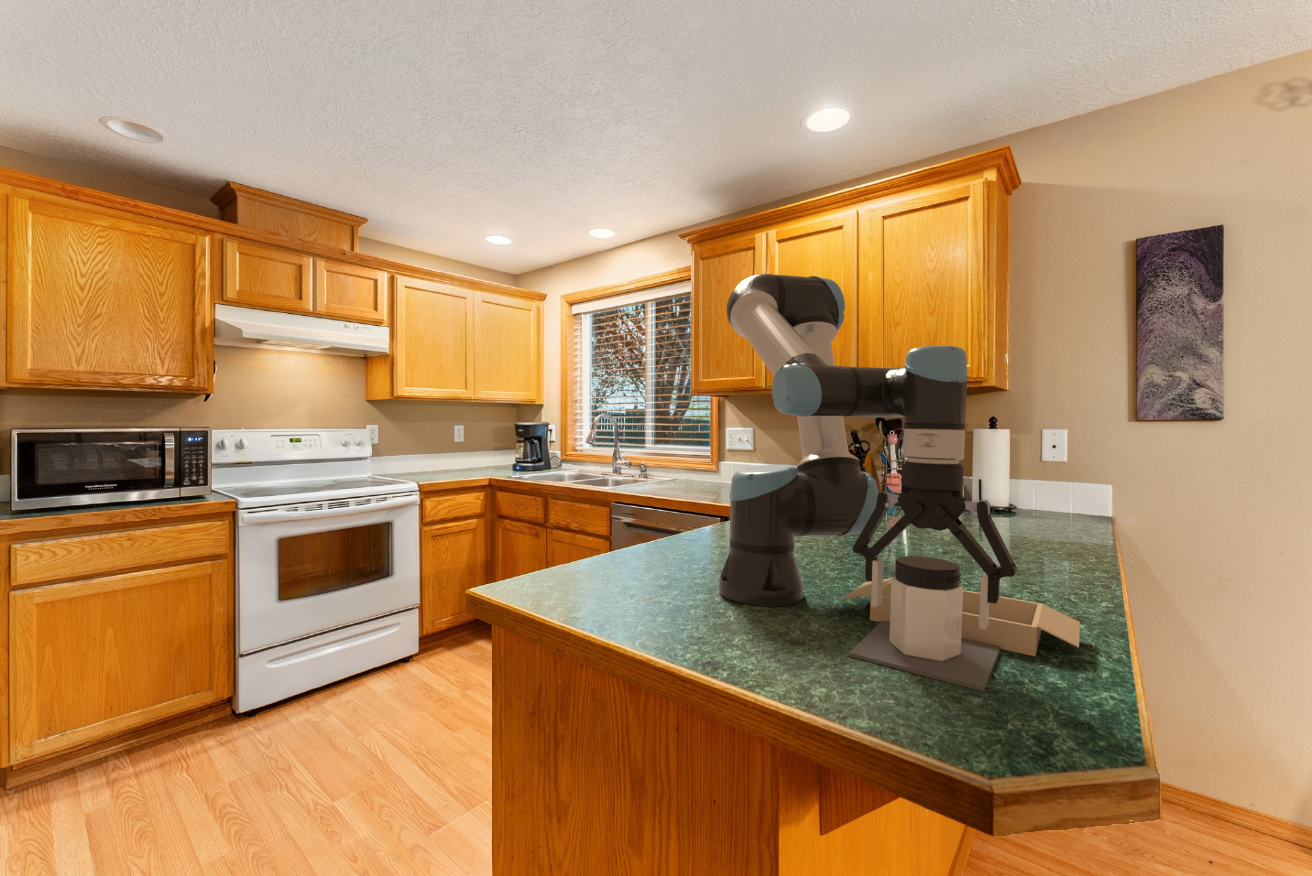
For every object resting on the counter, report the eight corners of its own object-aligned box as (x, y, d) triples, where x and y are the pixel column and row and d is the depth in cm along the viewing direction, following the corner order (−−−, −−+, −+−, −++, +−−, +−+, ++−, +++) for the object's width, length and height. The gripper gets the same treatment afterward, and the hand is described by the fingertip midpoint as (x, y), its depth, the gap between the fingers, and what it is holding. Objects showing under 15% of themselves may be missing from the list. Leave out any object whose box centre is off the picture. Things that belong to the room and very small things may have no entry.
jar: (934, 667, 73) (937, 574, 73) (878, 645, 80) (881, 560, 80) (971, 652, 78) (974, 565, 78) (915, 633, 85) (918, 553, 85)
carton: (840, 613, 95) (841, 588, 95) (865, 594, 105) (866, 572, 105) (1078, 665, 76) (1079, 635, 76) (1079, 636, 86) (1080, 609, 86)
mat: (848, 656, 78) (849, 652, 78) (882, 623, 90) (882, 620, 90) (983, 691, 68) (984, 687, 68) (1000, 649, 81) (1000, 646, 81)
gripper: (833, 457, 83) (828, 602, 83) (1040, 468, 68) (1033, 645, 68) (850, 454, 89) (846, 590, 89) (1044, 465, 74) (1037, 628, 74)
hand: (927, 614), depth 79 cm, fingers open, 13 cm apart
